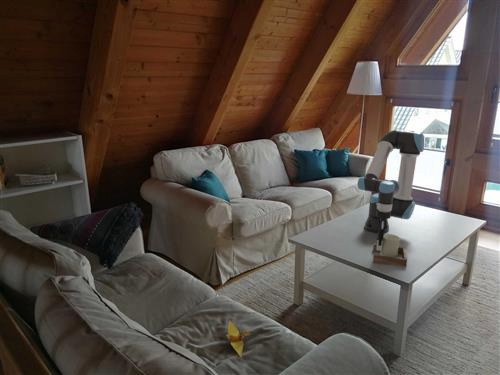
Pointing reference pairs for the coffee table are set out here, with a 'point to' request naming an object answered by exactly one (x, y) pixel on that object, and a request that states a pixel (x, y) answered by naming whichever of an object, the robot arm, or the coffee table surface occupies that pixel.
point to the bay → (391, 259)
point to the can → (390, 245)
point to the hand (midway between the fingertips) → (378, 249)
